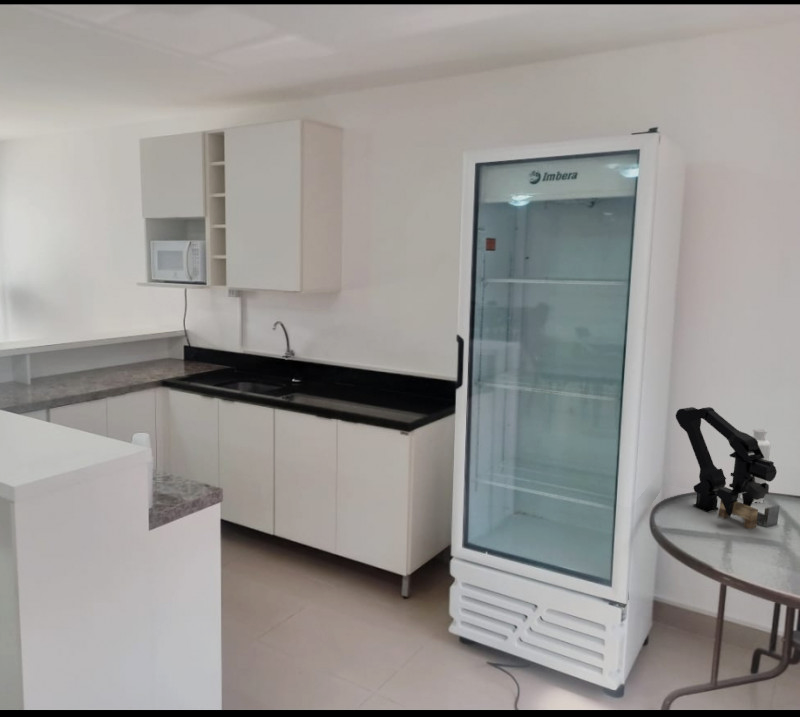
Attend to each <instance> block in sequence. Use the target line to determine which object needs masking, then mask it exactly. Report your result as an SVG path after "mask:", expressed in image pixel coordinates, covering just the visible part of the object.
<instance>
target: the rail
mask: <svg viewBox="0 0 800 717" xmlns="http://www.w3.org/2000/svg"><path fill="white" fill-rule="evenodd" d="M719 504H720V505H719V508H721V509H723V510H726V509H725V507H724V505H723V502H722V501H721V500H720V503H719ZM758 512H759V509H758V508H755V507H752V506H748V505H745V504H743V502H740V501H739V500H738V501H737V502H735V503H734V506H733V511H732V513H733V514H732V515H734V514H735V515H736V516H737V517H740V518H743V519H744V520H745V519H747V520H750V521H752V520H755V519H757V514H758Z"/></svg>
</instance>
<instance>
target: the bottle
mask: <svg viewBox="0 0 800 717" xmlns="http://www.w3.org/2000/svg"><path fill="white" fill-rule="evenodd" d="M752 431H753V435H752V437H753V438H755V439H756V440H757V441H758V446H759V448H760V450H761V452H762V454H763V456H764V458H763V459H764V460H767V461H770V451H771V443H770V441H769V440H768V439H767V437H766V434H767V433H768V430H766V429H764V428H753V429H752ZM753 454H754V453H750V454H748V455H753ZM754 478H755V482H756V483H760V484H762V483H767V481H766V480H763V479H760V478H757V477H754ZM739 498H740V499H741V500H742V499H743V496H742V494H739ZM764 499H765V497H764V498H762V499H758V500H756V499H754V501H753V502H761V501H763V500H764ZM763 502H764V501H763Z"/></svg>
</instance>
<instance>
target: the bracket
mask: <svg viewBox="0 0 800 717" xmlns="http://www.w3.org/2000/svg"><path fill="white" fill-rule="evenodd" d="M779 514H780V505H778V504H776V505H772V506H768V507H766V508H764V513H762V512H760V511H758V514H757V525H759V526H760V527H765V528H769V527H772V526H775V525H776V526H777V525H778V521H779ZM731 515H735V514H733V513H732V514H731Z"/></svg>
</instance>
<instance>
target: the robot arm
mask: <svg viewBox="0 0 800 717" xmlns="http://www.w3.org/2000/svg"><path fill="white" fill-rule="evenodd" d="M675 419H676V421H677V423H678V425H679V426H680V427H681V429H683V430H684V431H685V432H686V434H687V438H688V439H689V442H690V444H691V445H690V446H691V447H692V450H693V453H694V456H695V458H696V462H697V463H698V464H697V465H698V466H699V475H698V478H699V482H698V483H697V484H695V485H694V486H693V491H694V493H696V501H695V503H693V504H692V507H695V508H697V509H699V510H701V511H704V512H706V513H709V512H713V511H717V510H719V508H720V507H718V498H719V499H720V502H721V501H722V502H723V505H724V507H725V509H726V512H727V514H728V515H729V517H731V516H732V515H733V514H732V511H733V506H734V503H735V502H737V501H738V502H739V500H738V499H739V497H740V494H742V496H743V500H742V503H743V504H745V505H748V506H750V507H752V504H753V503H752V502H753V501H754V499H756V500H758V499H761V498H764V499H765V496H766V495H767V494H769V489H770V486H769V485H770V484H769V483H767V482H773V480H774V479H775V478H776V476H777V471H778V470H777V468H776V466H775V465H774V463H775V462H774V461H772V460H769V461H767V460H764V459H763V458H764V456H763V454H762V452H761V450H760V448H759V446H758V441H757V440H756V439H755V438H753V437H752V436H753V435H752V436H751V435H750V434H748V433H746V432H743V431H741V430H738V429H737V428H736V427H734V425H732V424H731V423H730V422H729V421H728V420H726V419H725V418H724V417H722V416H721V415H720V414H719V413H718V412H717V411H715V409H714V408H713V407H711V406H709V407H708V406H706V407H702V408H696V407H695V406H691V407H684V408H679V409H678V410H677V411H676V413H675ZM702 419H703V420H704V421H705V422H706V423H708V424H709V425H710V426H711V427H712V428H714V430H716V431H717V432H718V433H719V434H720V435H722V436H723V437H724V438H725V439H726V440H727V441H728V444H729V446H730V447H731V449H732V450H733V452H732V453H730V454H729V457H730V458H733V459H734V466H733V471H732V472H730V477H732V482H731V483H729V486H728V487H726V486H727V482H726V480H727V477H726V476H725V474H724V470H723V469H722V468H717V466H716V465H715V464H714V461H713V459H712V455H711V454H710V451H709V448H708V445H707V443H706V440H705V438H704V436H703V433H702V430H701V424H702ZM750 453H754V454H753V455H748V454H750ZM754 477H757V478H760V479H763V480H766V483H762V484H760V483H756V482H755V478H754ZM731 488H732V489H731Z"/></svg>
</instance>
